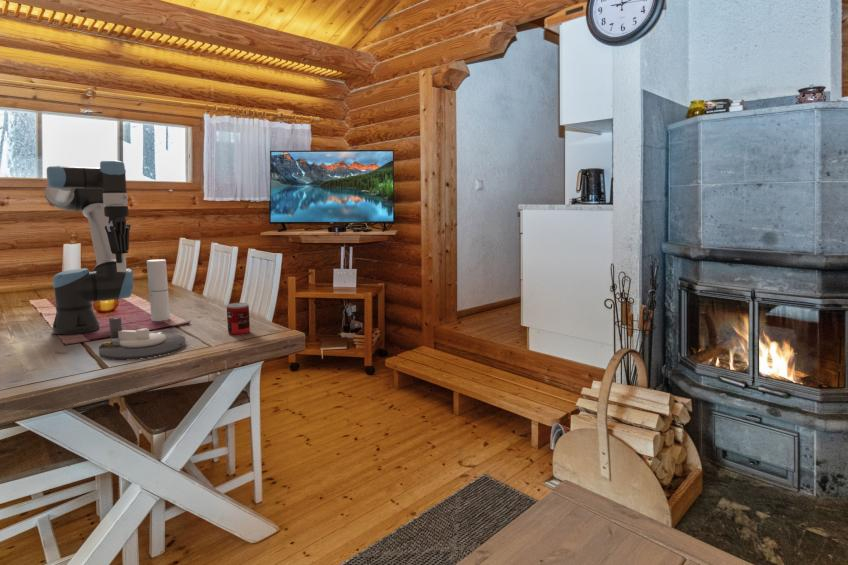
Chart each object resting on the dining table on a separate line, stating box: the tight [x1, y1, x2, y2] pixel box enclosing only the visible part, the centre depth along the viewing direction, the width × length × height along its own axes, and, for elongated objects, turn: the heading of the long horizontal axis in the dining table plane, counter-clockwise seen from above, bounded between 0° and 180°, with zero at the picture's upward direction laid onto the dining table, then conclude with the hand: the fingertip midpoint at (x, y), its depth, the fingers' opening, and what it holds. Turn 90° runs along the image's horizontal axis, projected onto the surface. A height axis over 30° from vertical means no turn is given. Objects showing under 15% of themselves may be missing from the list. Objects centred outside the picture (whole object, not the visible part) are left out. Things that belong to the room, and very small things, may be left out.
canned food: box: [226, 302, 251, 336], centre depth 201 cm, size 8×8×11 cm
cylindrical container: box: [146, 258, 171, 322], centre depth 222 cm, size 7×7×25 cm
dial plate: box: [98, 331, 187, 361], centre depth 181 cm, size 26×26×2 cm
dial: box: [108, 317, 166, 348], centre depth 180 cm, size 19×14×8 cm
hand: (121, 271), depth 192 cm, fingers closed
